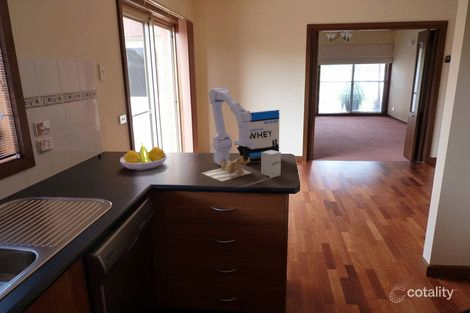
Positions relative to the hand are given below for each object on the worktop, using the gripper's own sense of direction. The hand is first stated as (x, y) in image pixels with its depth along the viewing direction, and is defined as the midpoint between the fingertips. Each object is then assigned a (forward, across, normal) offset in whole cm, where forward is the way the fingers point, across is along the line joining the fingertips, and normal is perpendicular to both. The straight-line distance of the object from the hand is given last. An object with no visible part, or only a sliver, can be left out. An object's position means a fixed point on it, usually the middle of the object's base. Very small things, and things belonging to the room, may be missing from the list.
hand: (244, 160), depth 177 cm
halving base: (+7, +5, +8) cm, 12 cm away
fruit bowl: (+8, +51, +34) cm, 61 cm away
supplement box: (+8, -12, -8) cm, 16 cm away
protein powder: (+8, +10, -23) cm, 26 cm away
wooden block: (+3, 0, +4) cm, 5 cm away
